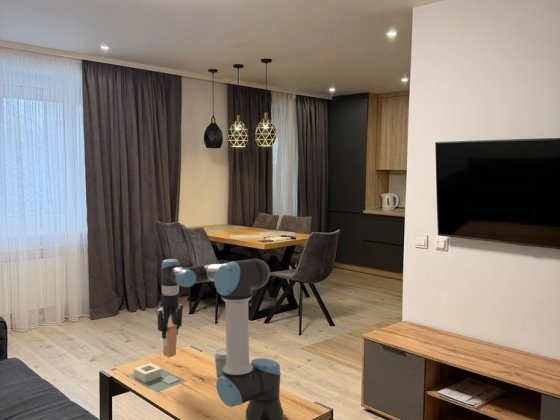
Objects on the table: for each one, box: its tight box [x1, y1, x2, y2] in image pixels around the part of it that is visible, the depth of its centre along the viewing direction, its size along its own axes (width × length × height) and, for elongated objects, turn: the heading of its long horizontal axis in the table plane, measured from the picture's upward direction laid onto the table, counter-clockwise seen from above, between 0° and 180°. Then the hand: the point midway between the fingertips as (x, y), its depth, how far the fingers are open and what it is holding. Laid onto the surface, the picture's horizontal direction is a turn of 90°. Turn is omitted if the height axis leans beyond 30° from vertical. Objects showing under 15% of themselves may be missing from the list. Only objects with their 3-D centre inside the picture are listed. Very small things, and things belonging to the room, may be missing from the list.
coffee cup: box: [213, 348, 227, 379], centre depth 233 cm, size 8×8×12 cm
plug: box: [162, 322, 177, 358], centre depth 223 cm, size 5×5×14 cm
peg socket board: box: [126, 362, 187, 393], centre depth 226 cm, size 24×16×6 cm, turn 49°
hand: (169, 343), depth 223 cm, fingers closed on plug, 4 cm apart
